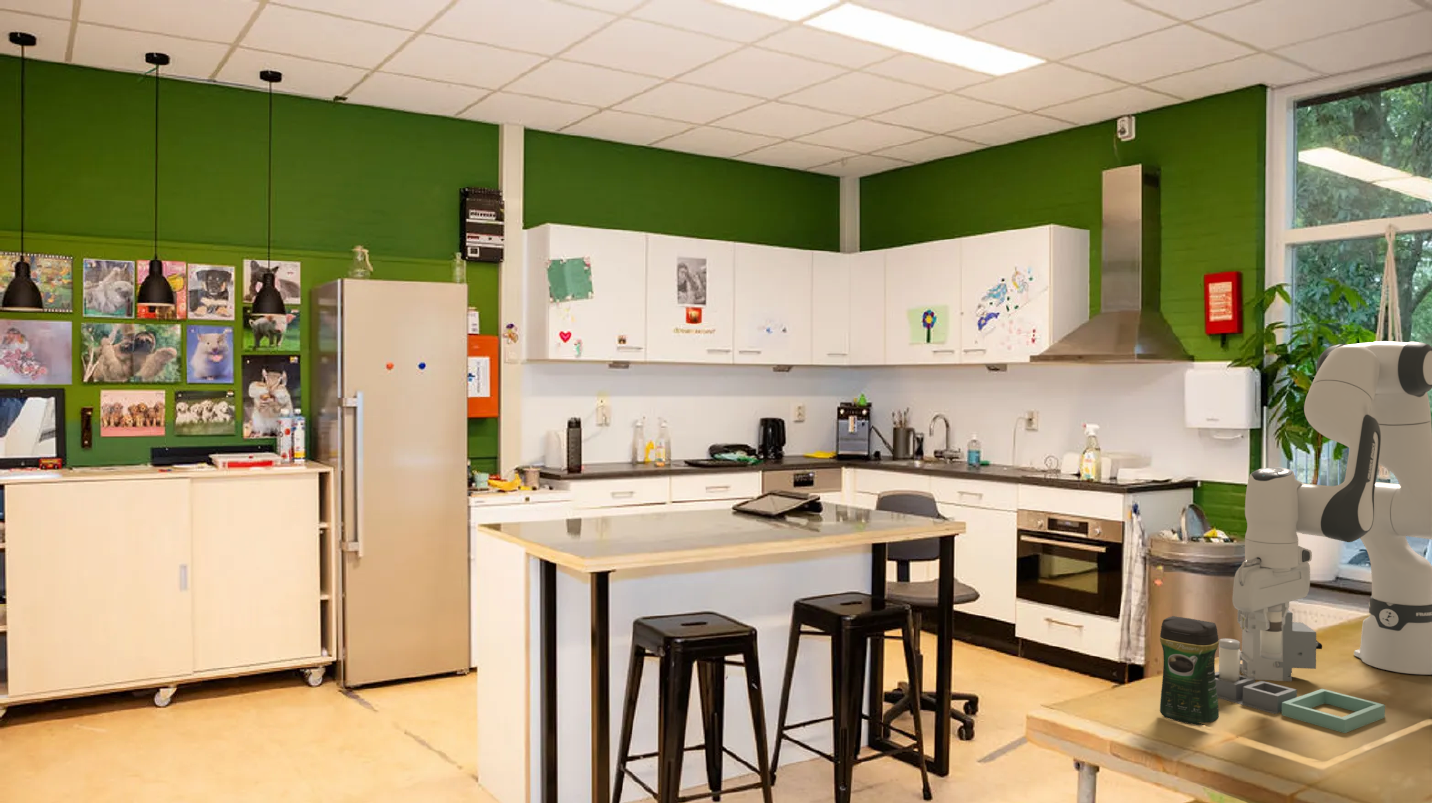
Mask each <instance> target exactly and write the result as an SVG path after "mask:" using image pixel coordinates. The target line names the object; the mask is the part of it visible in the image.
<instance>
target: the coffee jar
mask: <svg viewBox="0 0 1432 803" xmlns="http://www.w3.org/2000/svg"><path fill="white" fill-rule="evenodd" d="M1217 628H1218V627H1217V624H1216V623H1215V622H1212V621H1205V620H1201V619H1195V618H1189V617H1182V616H1174V615H1172V616H1169V617H1166V618H1164V619H1163V620H1162V622H1161V627H1160V634H1159V641H1160V645H1161V647H1162V652H1163V653H1162V655H1163V656H1162V657H1163V668H1162V669H1163V670H1162V671H1163V672H1162V681H1161V690H1160V692H1161V693H1160V701H1159V713H1160V714H1161V715H1162V716H1163V717H1164V718H1166V719H1169V720H1172V721H1176V722H1181V723H1184V724H1190V725H1195V726H1205V724H1207V723H1208V724H1209V723H1213V722H1215V721H1217V720H1218V719H1219V717H1220V716H1219V715H1220V711H1219V710H1220V709H1219V700H1218V699H1219V698H1217V690H1216V680H1215V673H1216V670H1215V662H1216V661H1215V658H1216V652H1217V650H1218V649H1219V640H1220V639H1219V635H1218V634H1219V633H1218V629H1217Z"/></svg>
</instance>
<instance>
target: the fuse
mask: <svg viewBox="0 0 1432 803" xmlns="http://www.w3.org/2000/svg"><path fill="white" fill-rule="evenodd" d="M1240 648H1241V642H1240V641H1239V640H1237V639H1234V638H1220V639H1219V645H1218V672H1219V679H1222V680H1226V681H1230V682H1233V683H1234V682H1237V681H1239V677H1240V675H1241V674H1240V673H1241V671H1240V664H1241V660H1240V651H1241V649H1240Z"/></svg>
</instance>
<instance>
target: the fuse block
mask: <svg viewBox="0 0 1432 803" xmlns="http://www.w3.org/2000/svg"><path fill="white" fill-rule="evenodd" d="M1215 680H1216V690H1217V698H1218V699H1221V700H1225V701H1229V702H1231V703H1235V704H1238V705H1242V706H1246V707H1248V708H1252V709H1256V710H1260V711H1263V712H1266V713H1270V714H1274V715H1277V714H1280V713H1282V702H1285V701H1288V700H1291V699H1294V698H1296V697H1298V689H1295V688H1292V687H1288V686H1284V685H1280V684H1276V683H1273V682H1268V681H1266V680H1259V681H1257V682H1256V680H1255V679H1254V678H1250V677H1246V676H1245V675H1243V674H1242V675H1241V674H1240V677H1239V681H1237V682H1234V683H1233V682H1230V681H1226V680H1222V679H1219V671H1215Z"/></svg>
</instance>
